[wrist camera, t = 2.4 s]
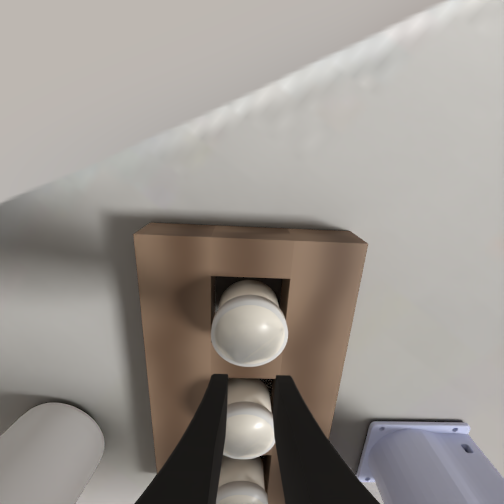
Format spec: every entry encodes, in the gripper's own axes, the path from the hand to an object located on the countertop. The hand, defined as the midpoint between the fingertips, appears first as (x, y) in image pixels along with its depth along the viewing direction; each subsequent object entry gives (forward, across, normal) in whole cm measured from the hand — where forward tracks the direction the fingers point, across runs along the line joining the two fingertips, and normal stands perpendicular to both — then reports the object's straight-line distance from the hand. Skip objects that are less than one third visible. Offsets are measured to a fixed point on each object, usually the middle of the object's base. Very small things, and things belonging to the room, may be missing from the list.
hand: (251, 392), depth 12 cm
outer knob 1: (+7, 0, 0) cm, 7 cm away
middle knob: (+7, 0, +8) cm, 11 cm away
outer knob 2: (+7, 0, +16) cm, 17 cm away
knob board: (+9, 0, +8) cm, 12 cm away
